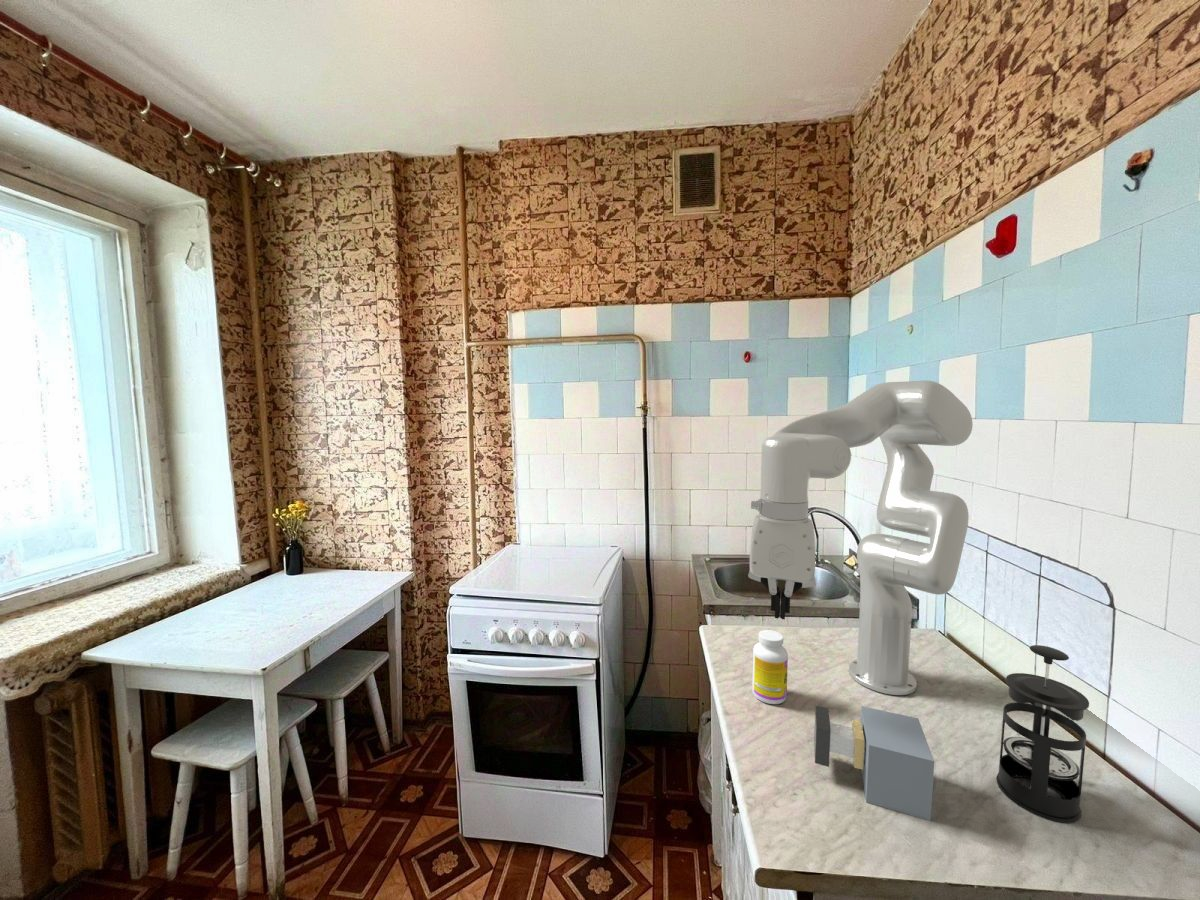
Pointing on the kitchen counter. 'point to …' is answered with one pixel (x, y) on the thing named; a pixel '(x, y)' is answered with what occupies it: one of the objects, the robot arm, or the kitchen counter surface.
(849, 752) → the shaft
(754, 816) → the kitchen counter surface
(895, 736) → the housing
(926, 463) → the robot arm
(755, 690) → the supplement bottle
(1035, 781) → the french press
